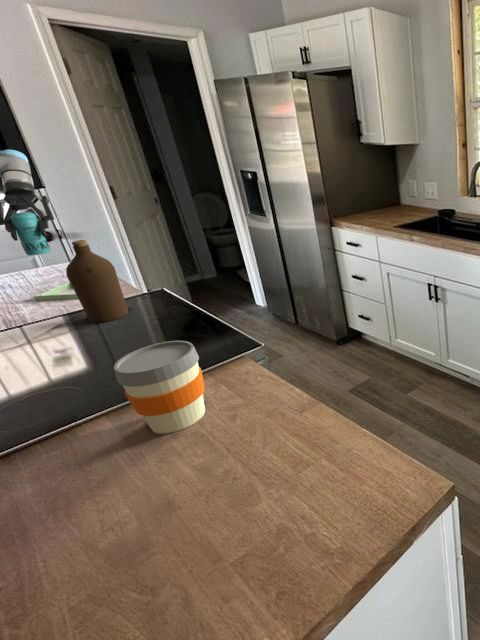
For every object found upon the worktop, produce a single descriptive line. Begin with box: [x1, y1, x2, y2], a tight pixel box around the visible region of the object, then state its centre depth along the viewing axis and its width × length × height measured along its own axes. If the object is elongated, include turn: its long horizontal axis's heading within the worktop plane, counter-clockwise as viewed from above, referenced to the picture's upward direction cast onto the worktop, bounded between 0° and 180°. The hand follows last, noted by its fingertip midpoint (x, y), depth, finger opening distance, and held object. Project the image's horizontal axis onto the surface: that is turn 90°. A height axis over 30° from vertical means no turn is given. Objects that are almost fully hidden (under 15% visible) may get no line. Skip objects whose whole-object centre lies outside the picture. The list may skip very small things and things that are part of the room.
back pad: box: [33, 281, 79, 302], centre depth 150 cm, size 14×14×2 cm
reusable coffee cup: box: [113, 340, 206, 435], centre depth 82 cm, size 13×13×15 cm
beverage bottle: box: [10, 203, 51, 256], centre depth 151 cm, size 6×7×20 cm
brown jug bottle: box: [65, 239, 129, 324], centre depth 127 cm, size 11×11×25 cm
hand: (29, 236), depth 149 cm, fingers closed on beverage bottle, 6 cm apart
